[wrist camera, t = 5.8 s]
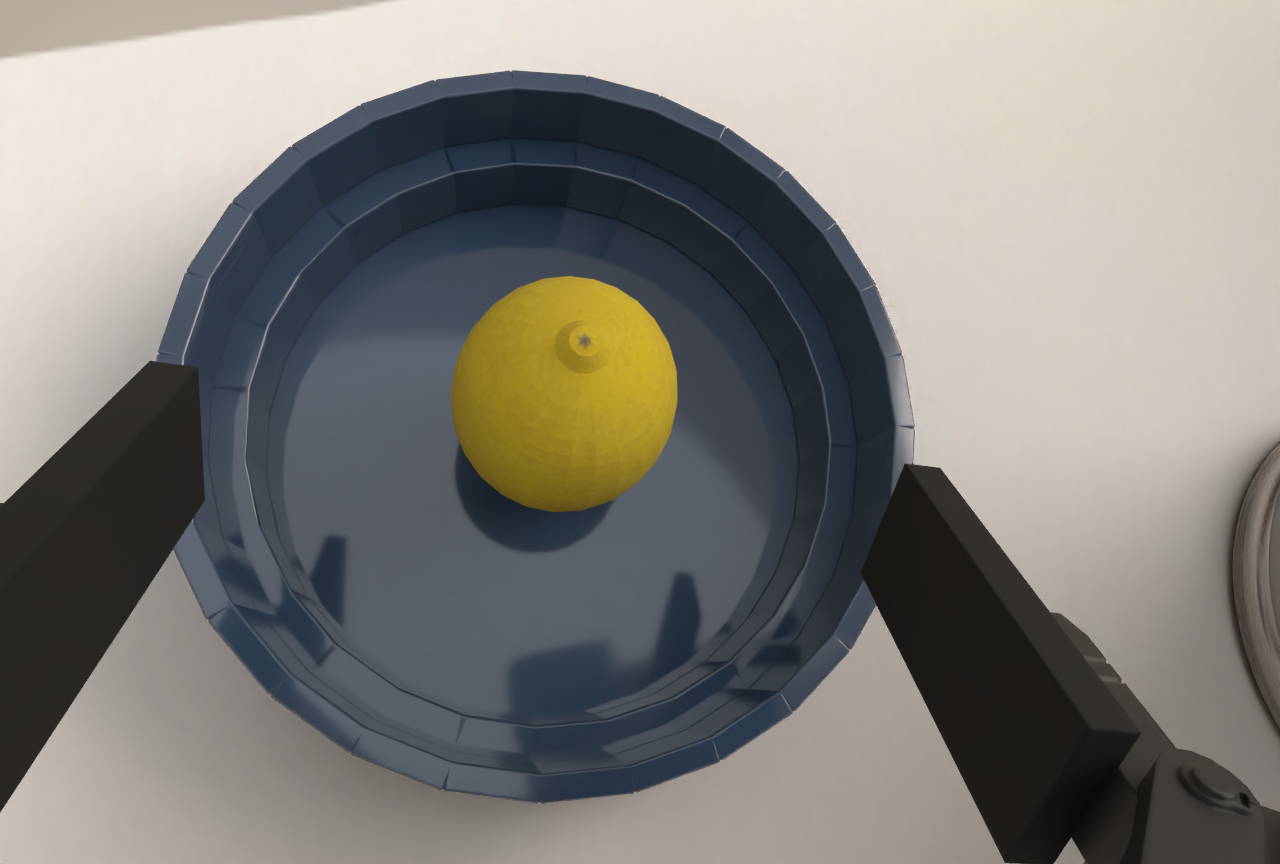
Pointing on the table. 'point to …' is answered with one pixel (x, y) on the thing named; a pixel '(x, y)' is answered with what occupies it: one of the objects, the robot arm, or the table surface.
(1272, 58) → the table surface
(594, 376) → the lemon
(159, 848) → the table surface
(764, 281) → the bowl
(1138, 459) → the table surface
